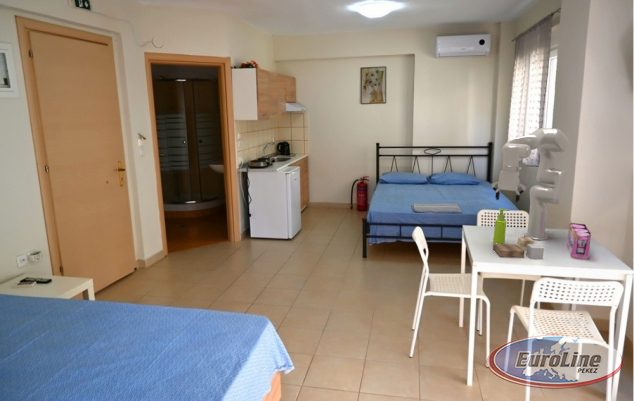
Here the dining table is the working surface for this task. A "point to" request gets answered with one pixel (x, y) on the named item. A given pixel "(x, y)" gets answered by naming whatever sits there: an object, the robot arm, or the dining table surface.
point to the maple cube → (524, 242)
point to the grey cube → (535, 251)
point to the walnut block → (508, 250)
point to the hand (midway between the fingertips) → (507, 200)
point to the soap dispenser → (500, 228)
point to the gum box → (578, 241)
